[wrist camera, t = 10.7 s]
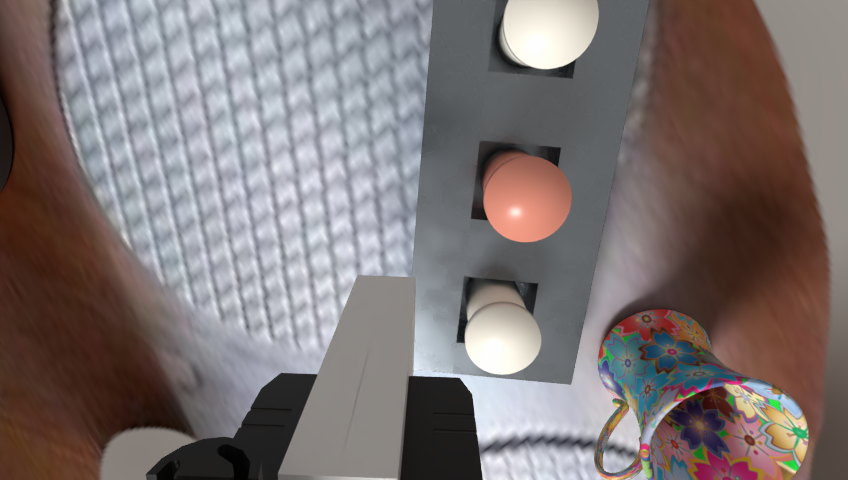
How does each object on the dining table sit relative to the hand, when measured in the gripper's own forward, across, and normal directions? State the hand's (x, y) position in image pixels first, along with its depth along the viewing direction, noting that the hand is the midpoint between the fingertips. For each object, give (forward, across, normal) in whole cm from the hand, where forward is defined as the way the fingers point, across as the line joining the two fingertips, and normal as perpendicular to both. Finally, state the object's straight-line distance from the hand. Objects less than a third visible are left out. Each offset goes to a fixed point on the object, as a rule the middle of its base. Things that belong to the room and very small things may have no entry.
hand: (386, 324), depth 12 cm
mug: (+22, +18, -14) cm, 32 cm away
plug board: (+23, +6, 0) cm, 23 cm away
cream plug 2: (+22, +7, +9) cm, 24 cm away
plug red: (+21, +6, 0) cm, 21 cm away
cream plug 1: (+21, +6, -9) cm, 24 cm away
